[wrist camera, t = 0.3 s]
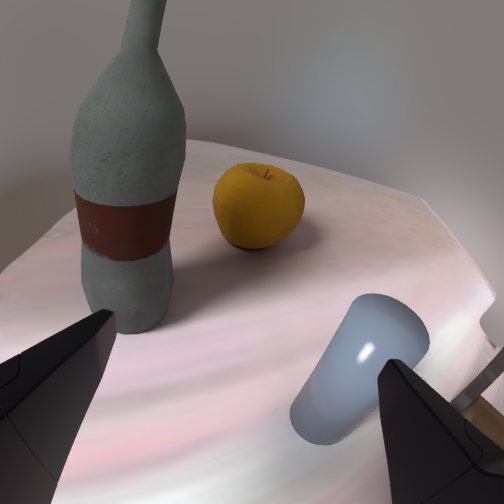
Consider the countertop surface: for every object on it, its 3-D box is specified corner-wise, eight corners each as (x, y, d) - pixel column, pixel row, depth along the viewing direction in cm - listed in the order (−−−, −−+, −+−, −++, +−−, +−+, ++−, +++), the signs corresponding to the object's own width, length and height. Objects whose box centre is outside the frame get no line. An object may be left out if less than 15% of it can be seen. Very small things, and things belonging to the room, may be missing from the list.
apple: (306, 248, 48) (328, 181, 42) (252, 279, 39) (274, 197, 33) (245, 212, 54) (259, 150, 48) (187, 232, 45) (196, 158, 39)
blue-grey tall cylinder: (356, 443, 22) (442, 361, 16) (292, 446, 22) (363, 362, 15) (345, 390, 27) (410, 297, 21) (287, 388, 27) (340, 288, 20)
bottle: (172, 281, 36) (214, 1, 19) (171, 342, 28) (223, -26, 12) (96, 275, 33) (107, -4, 17) (79, 334, 26) (70, -26, 10)
